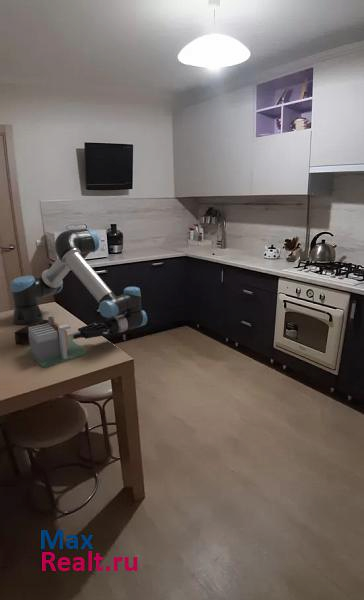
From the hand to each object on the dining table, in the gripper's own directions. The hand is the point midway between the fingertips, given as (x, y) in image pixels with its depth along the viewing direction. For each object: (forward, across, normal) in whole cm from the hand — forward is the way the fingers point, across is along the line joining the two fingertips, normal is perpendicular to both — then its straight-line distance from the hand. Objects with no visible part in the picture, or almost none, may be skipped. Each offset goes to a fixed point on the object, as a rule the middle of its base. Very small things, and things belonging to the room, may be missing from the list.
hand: (65, 337), depth 147 cm
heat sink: (+2, +5, -8) cm, 10 cm away
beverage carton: (+4, +29, -8) cm, 31 cm away
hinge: (+1, +5, -6) cm, 8 cm away
